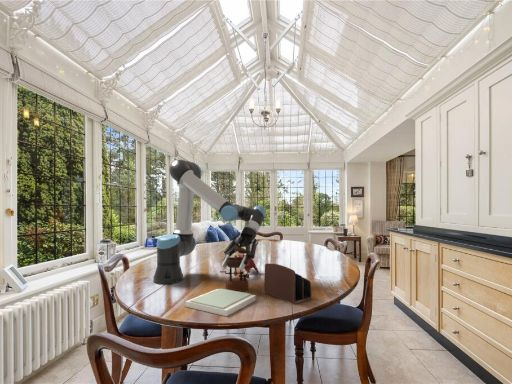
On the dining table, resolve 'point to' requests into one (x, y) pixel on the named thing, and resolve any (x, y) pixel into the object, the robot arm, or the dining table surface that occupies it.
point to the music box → (235, 262)
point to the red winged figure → (250, 264)
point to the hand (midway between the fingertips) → (231, 268)
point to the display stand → (221, 301)
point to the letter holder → (286, 284)
